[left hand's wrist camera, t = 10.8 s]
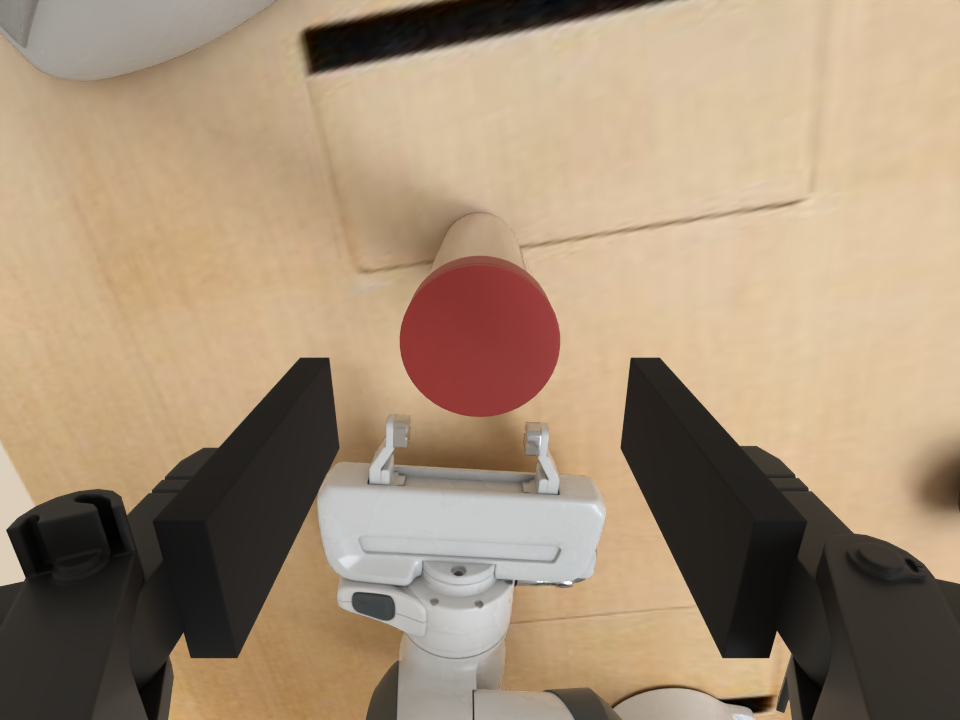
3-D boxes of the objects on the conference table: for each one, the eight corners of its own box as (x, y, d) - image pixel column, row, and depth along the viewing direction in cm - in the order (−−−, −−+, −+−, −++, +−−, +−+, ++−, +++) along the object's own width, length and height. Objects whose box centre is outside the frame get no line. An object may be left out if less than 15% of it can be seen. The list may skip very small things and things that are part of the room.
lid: (549, 393, 21) (556, 416, 19) (411, 395, 21) (404, 417, 19) (556, 254, 19) (564, 264, 17) (402, 255, 19) (394, 266, 17)
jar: (517, 288, 38) (551, 407, 20) (443, 288, 38) (410, 408, 20) (518, 212, 36) (557, 266, 18) (440, 213, 36) (401, 268, 18)
